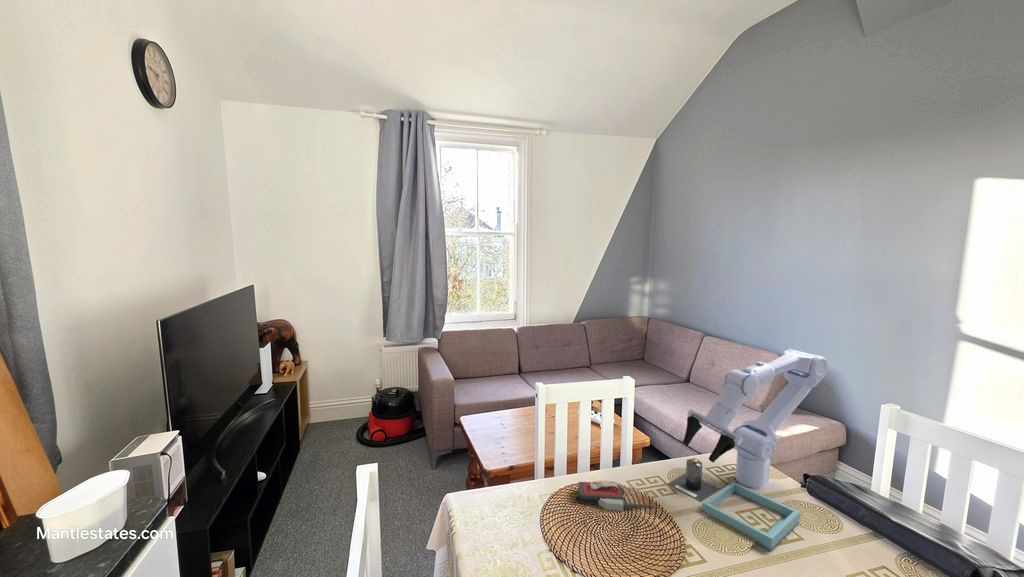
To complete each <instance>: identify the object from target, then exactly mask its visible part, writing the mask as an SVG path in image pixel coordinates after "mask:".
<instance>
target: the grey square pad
mask: <svg viewBox="0 0 1024 577" xmlns="http://www.w3.org/2000/svg"><path fill="white" fill-rule="evenodd" d="M685 484H686V472H685V473H683V474H682V475H680V476H679V477H676V478H675V479H674V480H672V481H670V482H668V483H667V484H666V485H667V486H669V487H671V488H673V489H675V490H677V491H678V492H681V493H683V494H685V495H686V496H689V497H691V498H692V499H694V500H696V501H698V502H700V503H703V502H704V500H705V501H706V500H707V499H709V498H710V497H712V496H713V495H715V494H716V493H717V492H719V491H720V488H719V487H717V486H715V485H713V484H710V482H707V481H705V480H704V479H702V481H701V490H699V491H694V490H690V489H688V488H687V487H686V485H685Z"/></svg>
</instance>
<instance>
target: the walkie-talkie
mask: <svg viewBox="0 0 1024 577" xmlns="http://www.w3.org/2000/svg"><path fill="white" fill-rule="evenodd" d="M625 498H626V496H625V489H624V487H622V486H621V484H619V483H617V482H615V481H599V482H592V481H590V482H589V481H579V482H578V495H576V496H575V499H574V500H575V501H576V502H578V503H581V504H588V505H589V504H590V505H598V506H599V507H601V508H603V509H606V510H608V511H619V512H623V511H624V509H639V510H642V508H644V509H645V508H646V509H655V505H652V504H641V503H640V504H639V503H629V502H626V501H625Z"/></svg>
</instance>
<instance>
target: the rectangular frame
mask: <svg viewBox="0 0 1024 577" xmlns="http://www.w3.org/2000/svg"><path fill="white" fill-rule="evenodd" d="M733 493H737V494H739V495H741V496H743V497H745V498H748V499H749V500H752V501H754V502H756V503H758V504H760V505H762V506H764V507H767V508H769V509H771V510H773V511H776V512H777V513H780V514H781V515H782V516H780V518H779V519H778V520H777V521H776V522H774V523H773V524H772V525H771V526H770V527H769V528H768V529H767V530H766V531H763V530H761V529H759V528H757V527H756V526H753V525H751V524H750V523H748V522H746V521H743V520H741V519H740V518H738V517H736V516H734V515H732V514H730V513H728V512H726V511H724V510H722V509H720V508H718V507H717V505H719V504H720V503H721V502H723V501H724V500H726V499H727V498H728V497H729V496H731V495H732V494H733ZM701 507H702V508H701V509H702V510H701V511H703V512H705V513H707V514H708V515H710V516H712V517H713V518H715V519H717V520H719V521H721V522H723V523H725V524H726V525H729V526H731V527H732V528H734V529H736V530H738V531H740V532H741V533H744V534H746V535H747V536H749V537H751V538H752V539H755V541H754V543H755V544H757V545H759V546H760V547H762V548H765V549H766V550H767V551H769V552H772V551H773V550H774V549H775V548H776V547H777V546H779V544H780V543H782V541H783V540H784V539H785V538H787V536H788V535H789V534H790V533H791V532H792V531H793V530H794V529H795V528H796V527H797V526H798V525H799V523H800V516H801V511H799V510H797V509H795V508H792V507H790V506H788V505H786V504H784V503H781V502H779V501H778V500H775V499H772V498H770V497H768V496H766V495H765V494H762V493H759V492H757V491H755V490H753V489H750V488H748V487H747V486H745V485H743V484H739V483H737V482H735V481H732V482H731V483H729V484H728V485H726V486H725V487H723V488H722V489H719V490H718V491H717V492H715V493H714V494H712V495H711V496H709V497H708V498H706V499H705V501H702V506H701Z"/></svg>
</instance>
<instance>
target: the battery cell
mask: <svg viewBox="0 0 1024 577" xmlns="http://www.w3.org/2000/svg"><path fill="white" fill-rule="evenodd" d="M685 465H686V466H685V468H686V469H685V473H686V484H685V485H686V487H687V488H688V489H690V490H694V491H699V490H701V481H702V480H703V479H702V476H703V463H702V461H701V460H699V459H697V458H689V459H687V460H686V464H685Z"/></svg>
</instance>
